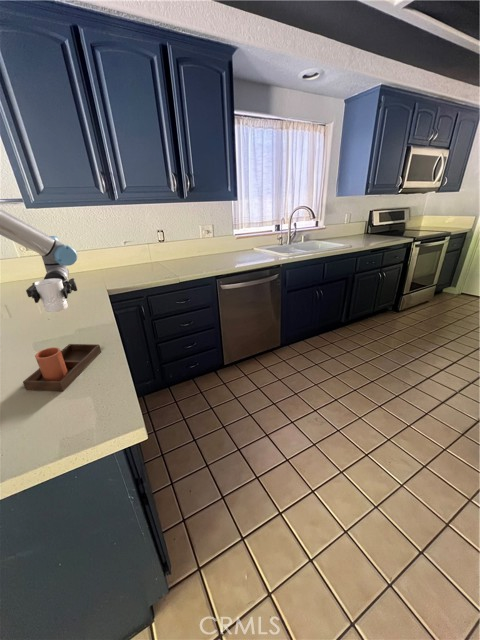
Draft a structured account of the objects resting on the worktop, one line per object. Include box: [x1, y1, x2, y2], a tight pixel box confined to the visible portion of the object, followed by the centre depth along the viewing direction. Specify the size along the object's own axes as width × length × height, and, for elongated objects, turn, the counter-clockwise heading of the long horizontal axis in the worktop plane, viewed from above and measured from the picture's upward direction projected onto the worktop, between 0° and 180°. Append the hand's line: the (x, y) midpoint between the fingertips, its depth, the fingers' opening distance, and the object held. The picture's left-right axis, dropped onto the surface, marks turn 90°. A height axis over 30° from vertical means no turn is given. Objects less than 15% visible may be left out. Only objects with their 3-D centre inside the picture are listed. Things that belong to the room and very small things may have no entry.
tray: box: [22, 343, 102, 392], centre depth 81 cm, size 10×20×3 cm, turn 178°
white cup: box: [33, 278, 69, 313], centre depth 92 cm, size 8×8×10 cm
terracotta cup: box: [34, 346, 68, 381], centre depth 75 cm, size 6×6×9 cm
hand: (50, 296), depth 88 cm, fingers closed on white cup, 8 cm apart
